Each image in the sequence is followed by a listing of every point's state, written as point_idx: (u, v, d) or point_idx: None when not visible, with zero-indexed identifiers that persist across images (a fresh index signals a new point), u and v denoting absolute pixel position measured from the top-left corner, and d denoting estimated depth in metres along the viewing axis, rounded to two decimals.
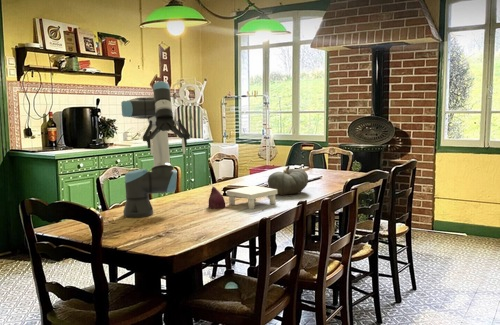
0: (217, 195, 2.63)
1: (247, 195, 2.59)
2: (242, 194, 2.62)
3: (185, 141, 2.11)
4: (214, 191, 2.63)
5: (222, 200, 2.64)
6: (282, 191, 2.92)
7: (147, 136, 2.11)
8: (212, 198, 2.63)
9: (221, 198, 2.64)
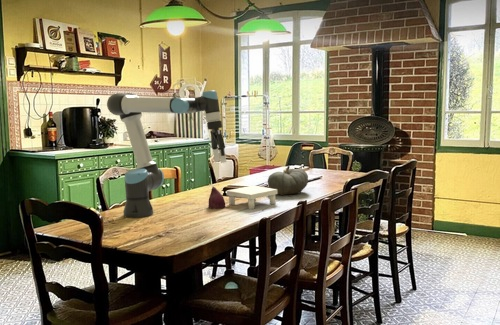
0: (217, 195, 2.63)
1: (247, 195, 2.59)
2: (242, 194, 2.62)
3: None
4: (214, 191, 2.63)
5: (222, 200, 2.64)
6: (282, 191, 2.92)
7: (219, 143, 2.42)
8: (212, 198, 2.63)
9: (221, 198, 2.64)
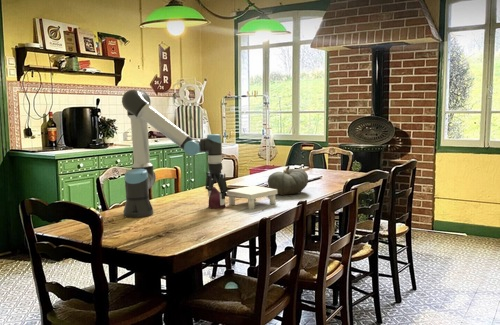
0: (217, 195, 2.63)
1: (247, 195, 2.59)
2: (242, 194, 2.62)
3: None
4: (214, 191, 2.63)
5: None
6: (282, 191, 2.92)
7: (222, 187, 2.60)
8: (212, 198, 2.63)
9: None
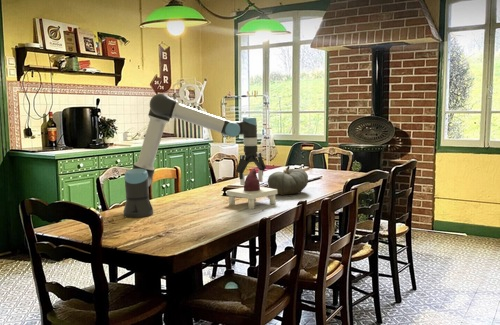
0: None
1: (247, 195, 2.59)
2: (242, 194, 2.62)
3: None
4: None
5: None
6: (282, 191, 2.92)
7: (262, 164, 2.74)
8: (257, 180, 2.68)
9: None
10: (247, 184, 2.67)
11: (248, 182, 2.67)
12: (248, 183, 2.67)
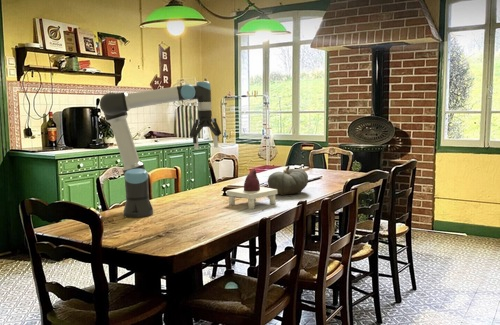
0: None
1: (247, 195, 2.59)
2: (242, 194, 2.62)
3: None
4: None
5: None
6: (282, 191, 2.92)
7: (218, 130, 2.75)
8: (257, 180, 2.68)
9: None
10: (247, 184, 2.67)
11: (248, 182, 2.67)
12: (248, 183, 2.67)
